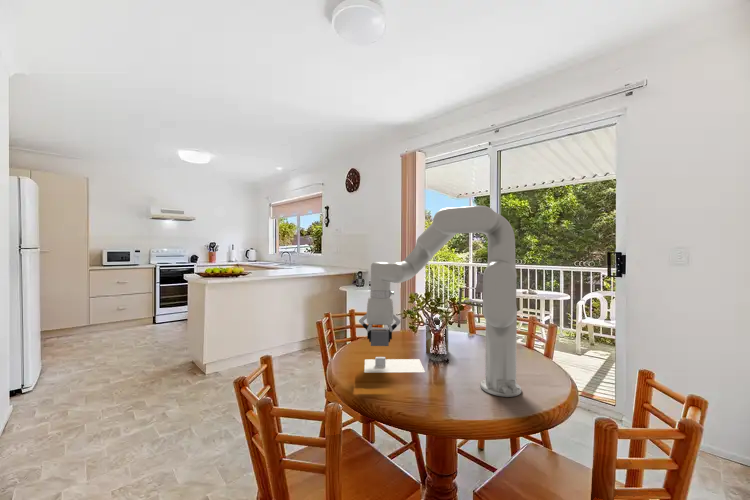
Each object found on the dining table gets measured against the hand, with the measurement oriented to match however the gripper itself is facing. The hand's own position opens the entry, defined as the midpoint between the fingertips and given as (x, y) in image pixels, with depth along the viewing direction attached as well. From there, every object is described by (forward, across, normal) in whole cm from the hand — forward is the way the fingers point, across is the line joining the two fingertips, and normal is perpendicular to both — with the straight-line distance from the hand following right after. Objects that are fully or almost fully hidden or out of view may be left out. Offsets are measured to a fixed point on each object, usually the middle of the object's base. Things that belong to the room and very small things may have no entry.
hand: (379, 340), depth 128 cm
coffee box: (+11, -26, -16) cm, 32 cm away
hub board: (+11, -6, 0) cm, 12 cm away
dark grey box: (+1, 0, 0) cm, 1 cm away
